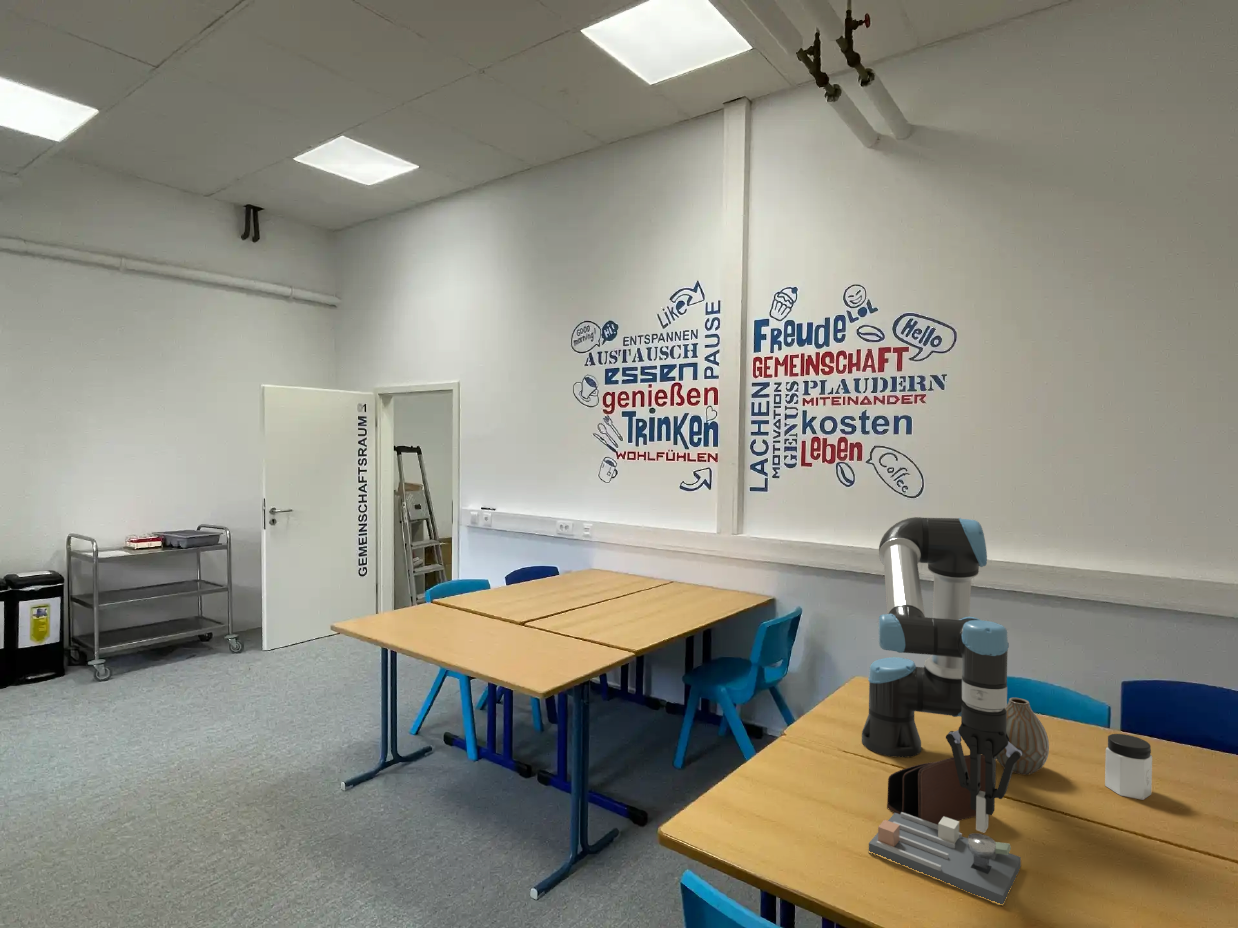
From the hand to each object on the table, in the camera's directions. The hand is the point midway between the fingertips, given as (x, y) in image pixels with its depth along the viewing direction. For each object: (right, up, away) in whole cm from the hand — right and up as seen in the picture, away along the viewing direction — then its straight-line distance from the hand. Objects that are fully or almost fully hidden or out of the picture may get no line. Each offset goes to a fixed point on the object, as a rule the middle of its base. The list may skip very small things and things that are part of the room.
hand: (982, 828), depth 127 cm
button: (0, -7, 0) cm, 7 cm away
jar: (+53, -9, +33) cm, 63 cm away
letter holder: (+3, -9, +24) cm, 26 cm away
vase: (+33, -9, +44) cm, 55 cm away
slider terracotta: (-14, -7, +8) cm, 18 cm away
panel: (-4, -9, +6) cm, 12 cm away
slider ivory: (-2, -7, +9) cm, 12 cm away
